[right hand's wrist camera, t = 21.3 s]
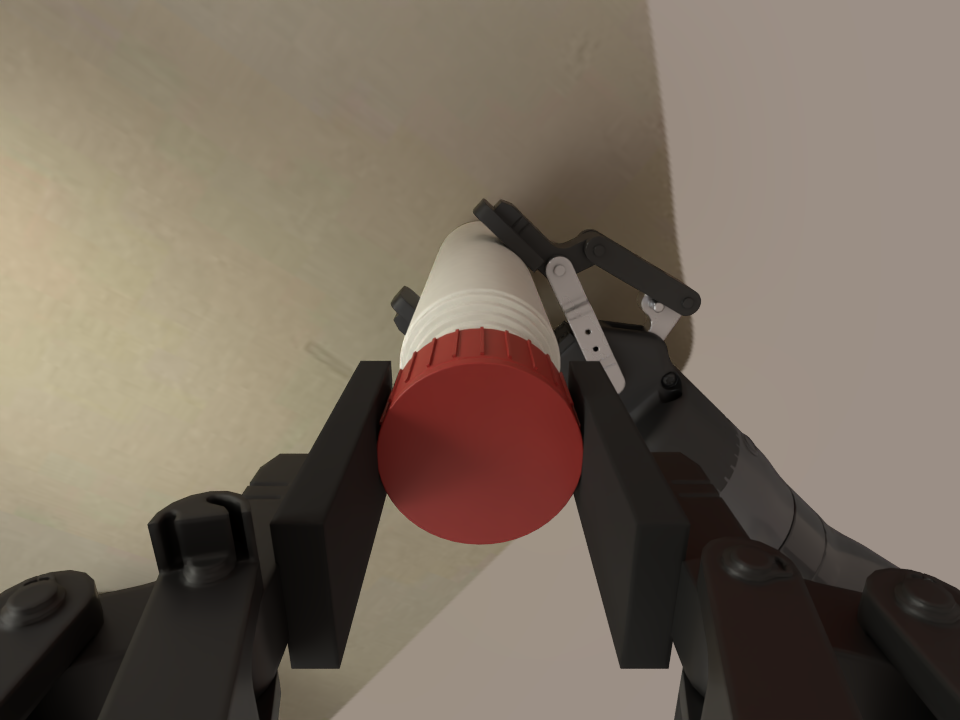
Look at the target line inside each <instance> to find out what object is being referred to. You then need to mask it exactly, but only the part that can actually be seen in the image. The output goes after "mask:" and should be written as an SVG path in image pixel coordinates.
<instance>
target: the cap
mask: <svg viewBox="0 0 960 720" xmlns="http://www.w3.org/2000/svg"><path fill="white" fill-rule="evenodd" d="M379 425H381V428H380V431H379V434H378V440H377V458H378V471H379V475H380V478H381V481H382V484H383V486H384V488H385V490H386V492H387V494H388V496H389V497H390V499H391V500H392V502H393V503H394V504H395V506H396V507H397V508H398V509H399V511H400V512H401V513H402V514H404V515H405V516H406V517H407V518H408V519H409V520H410V521H412V522H413V523H414V524H416V525H417V526H418V527H420V528H422V529H424V530H425V531H427V532H429V533H431V534H433V535H436V536H438V537H440V538H444V539H447V540H450V541H454V542H459V543H465V544H494V543H501V542H506V541H510V540H514V539H517V538H520V537H522V536H525V535H527V534H529V533H531V532H533V531H535V530H537V529H539V528H540V527H542V526H543V525H545V524H546V523H548V522H549V521H550V520H551V519H552V518H554V517H555V516H556V515H557V514H558V513H559V512H560V511H561V510H562V508H563V507H564V506H565V505H566V504H567V502H568V501H569V499H570V498H571V496H572V495H573V493H574V491H575V489H576V487H577V485H578V482H579V479H580V476H581V473H582V460H583V437H582V433H581V430H580V428H581V425H580V422H579V419H578V417H577V414H576V411H575V408H574V403H573V401H572V398H571V395H570V392H569V390H568V387H567V384H566V381H565V379H564V376H563V373H562V372H560V373H559V371H558V370H557V368H556V367H555V365H554V363H553V362H552V361H551V358H550V355H549V354H545V353H543V352H542V351H541V350H540V349H539V348H538V347H536V346H535V345H533V344H532V342H531V340H529V339H528V340H525V339H523V338H521V337H519V336H517V335H514V334H511V333H509V331H508V330H505V331H501V330H496V329H486V328H484V327H480V328H474V329H464V330H459V329H456V330H455V332H452V333H449V334H446V335H444V336H441V337H439V338H437V339H436V337H435V338H433V339H432V342H430V343H428V344H427V345H425V346H424V347H423V348H422V349H420V350H419V351H418V352H416V351H415V352H414V353H413V355H412V358H411V359H410V360H409V361H408V363H407V364H406V366H405V367H404V368H403V370H402V369H400V370H399V373H398V376H397V378H396V381H395V384H394V387H393V389H391V392H390V395H389V397H388V400H387V403H386V406H385V408H384V411H383V414H382V417H381V419H380V422H379Z"/></svg>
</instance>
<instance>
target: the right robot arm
mask: <svg viewBox="0 0 960 720" xmlns="http://www.w3.org/2000/svg"><path fill="white" fill-rule="evenodd" d="M391 389H393V388H392V371H391V361H360V363H359V365H358V366H357V368H356V370H355V372H354V373H353V375H352V377H351V379H350V381H349V382H348V384H347V386H346V388H345V390H344V391H343V393H342V395H341V397H340V399H339V400H338V402H337V404H336V406H335V408H334V409H333V411H332V413H331V415H330V416H329V418H328V420H327V422H326V424H325V425H324V427H323V429H322V431H321V433H320V434H319V436H318V438H317V440H316V442H315V443H314V445H313V447H312V449H311V450H310V452H309V454H279V455H278V456H276V457H275V458H273V459H272V460H270V461H269V462H267V463H266V464H265V465H263V466H262V467H260V469H259V470H258V472H257V473H256V475H255V476H254V478H253V479H252V481H251V482H250V486H247V488H246V489H245V491H244V492H243V494H242V495H241V494H237V493H233V492H229V491H209V492H205V493H200V494H195V495H191V496H188V497H186V498H183V499H181V500H178V501H176V502H173V503H171V504H170V505H168V506H167V507H165V508H164V509H162V510H161V511H159V512H158V513H157V514H156V515H155V516H154V517H153V518H152V520H151V521H150V522H149V523H148V524H147V525H148V529H149V533H150V537H151V541H152V545H153V549H154V553H155V557H156V562H157V566H158V570H159V576H158V578H157V581H155V582H151V583H148V584H144V585H141V586H136V587H132V588H127V589H122V590H118V591H113V592H109V593H104V594H99V595H98V592H97V589H96V585H95V582H94V580H93V579H92V578H91V577H90V576H89V575H88V574H86V573H84V572H79V571H73V570H66V571H58V572H50V573H46V574H42V575H40V576H35V577H33V578H30V579H27V580H25V581H23V582H21V583H19V584H17V585H15V586H13V587H11V588H9V589H7V590H5V591H4V592H2V593H1V594H0V720H278V716H279V706H280V697H281V689H280V682H279V675H278V667H279V664H280V661H281V659H282V656H283V654H284V651H285V648H286V646H287V643H288V648H289V655H290V661H291V668H292V669H340V665H341V662H342V658H343V654H344V650H345V647H346V643H347V639H348V635H349V632H350V628H351V624H352V621H353V617H354V613H355V609H356V606H357V602H358V598H359V595H360V591H361V587H362V583H363V580H364V576H365V572H366V569H367V565H368V561H369V557H370V554H371V550H372V546H373V543H374V539H375V535H376V531H377V528H378V524H379V520H380V517H381V513H382V509H383V505H384V502H385V498H386V494H387V492H386V490H385V488H384V486H383V484H382V481H381V478H380V475H379V471H378V458H377V440H378V434H379V431H380V428H381V425H379V422H380V419H381V417H382V414H383V411H384V408H385V406H386V403H387V400H388V397H389V395H390V392H391ZM568 390H569V392H570V395H571V398H572V401H573V403H574V408H575V411H576V414H577V417H578V419H579V422H580V425H581V428H580V430H581V433H582V437H583V460H582V473H581V476H580V479H579V482H578V485H577V487H576V489H575V491H574V493H573V494H574V497H575V501H576V505H577V509H578V512H579V516H580V520H581V524H582V527H583V531H584V535H585V538H586V542H587V546H588V550H589V553H590V557H591V561H592V564H593V568H594V572H595V576H596V579H597V583H598V586H599V590H600V594H601V598H602V602H603V605H604V609H605V613H606V616H607V620H608V624H609V628H610V631H611V635H612V639H613V642H614V646H615V650H616V654H617V657H618V661H619V665H620V668H621V669H668V668H669V662H670V656H671V649H672V643H674V645H675V648H676V650H677V653H678V656H679V658H680V661H681V663H682V666H683V670H682V675H681V681H680V688H679V694H678V700H677V706H676V712H675V718H674V720H960V590H958V589H957V588H955V587H953V586H951V585H949V584H947V583H945V582H943V581H941V580H939V579H937V578H935V577H933V576H930V575H927V574H923V573H921V572H916V571H913V570H908V569H899V568H885V569H880V570H875V571H874V572H873V573H872V574H870V575H869V576H868V577H867V579H866V582H865V586H864V589H863V592H858V591H854V590H849V589H845V588H840V587H835V586H831V585H826V584H822V583H818V582H814V581H811V580H807V579H804V578H803V577H802V575H801V573H800V571H799V570H798V568H797V567H796V566H795V564H794V563H793V561H792V560H791V559H789V558H788V557H787V556H785V555H784V554H783V553H781V552H780V551H779V550H777V549H775V548H773V547H771V546H769V545H767V544H764V543H762V542H760V541H756V540H752V539H750V537H749V536H748V535H747V533H746V532H745V530H744V529H743V527H742V526H741V524H740V523H739V521H738V520H737V519H736V517H735V516H734V514H733V513H732V511H731V510H730V508H729V507H728V506H727V504H726V503H725V501H724V500H723V498H722V497H720V496H719V495H720V494H719V492H718V491H717V490H716V488H715V487H714V485H713V484H711V481H710V479H709V478H708V477H707V475H706V474H705V472H704V471H703V469H702V468H701V466H700V465H699V464H697V463H696V462H694V461H693V460H691V459H690V458H688V457H687V456H685V455H684V454H683V453H681V452H650V450H649V448H648V447H647V445H646V443H645V441H644V439H643V438H642V436H641V434H640V432H639V431H638V429H637V427H636V425H635V423H634V422H633V420H632V418H631V416H630V414H629V413H628V411H627V409H626V407H625V405H624V404H623V402H622V400H621V398H620V397H619V395H618V393H617V391H616V389H615V388H614V386H613V384H612V382H611V380H610V379H609V377H608V375H607V373H606V371H605V370H604V368H603V366H602V364H601V362H600V361H569V373H568Z"/></svg>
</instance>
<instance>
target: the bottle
mask: <svg viewBox="0 0 960 720" xmlns="http://www.w3.org/2000/svg"><path fill="white" fill-rule="evenodd" d="M480 327H484V328H486V329H496V330H501V331H505V330H508V331H509V333H511V334H514V335H517V336H519V337H521V338H523V339H525V340H528V339H529V340H531V342H532V344H533V345H535V346H536V347H538V348H539V349H540V350H541V351H542V352H543V353H545V354H549V355H550V358H551V361H552V362H553V363H554V365H555V367H556V368H557V370H558V371H559V373H560V352H559V347H558V343H557V340H556V337H555V334H554V332H553V329H552V327H551V324H550V322H549V319H548V317H547V314H546V312H545V309H544V307H543V304H542V302H541V299H540V297H539V294H538V292H537V289H536V287H535V284H534V281H533V279H532V276H531V274H530V271H529V269H528V266H527V265H526V264H525V263H524V262H523V261H522V260H521V259H520V258H519V257H518V256H517V255H516V254H515V253H513V252H512V251H511V250H510V249H509V248H508V247H507V246H506V245H505V244H504V243H503V242H502V241H501V240H500V239H499V238H498V237H497V236H496V235H495V234H494V233H493V232H492V231H491V230H490V229H488V228H487V227H486V226H485V225H484V224H483V223H482V222H481V221H475V222H470V223H466V224H463V225H461V226H459V227H458V228H456V229H455V230H453V231H452V232H451V233H450V234H449V235H448V236H447V237H446V238H445V240H444V241H443V243H442V245H441V247H440V249H439V252H438V254H437V257H436V259H435V262H434V264H433V267H432V269H431V272H430V275H429V277H428V280H427V282H426V285H425V287H424V290H423V292H422V295H421V297H420V300H419V302H418V305H417V307H416V310H415V312H414V315H413V317H412V320H411V322H410V325H409V327H408V330H407V332H406V335H405V338H404V341H403V344H402V348H401V354H400V369H402V370H403V368H404V367H405V366H406V364H407V363H408V361H409V360H410V359H411V358H412V355H413V353H414V352H415V351H416V352H418V351H419V350H420V349H422V348H423V347H424V346H425V345H427V344H428V343H430V342H432V339H433V338H435V337H436V339H437V338H439V337H441V336H444V335H446V334H449V333H452V332H455V330H456V329H459V330H464V329H474V328H480Z"/></svg>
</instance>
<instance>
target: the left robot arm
mask: <svg viewBox="0 0 960 720" xmlns="http://www.w3.org/2000/svg"><path fill="white" fill-rule="evenodd" d="M473 213H474V214H475V216H476V217H477V218H478V219H479V220H480V221H481V222H482V223H483V224H484V225H485V226H486V227H487V228H488V229H490V230H491V231H492V232H493V233H494V234H495V235H496V236H497V237H498V238H499V239H500V240H501V241H502V242H503V243H504V244H505V245H506V246H507V247H508V248H509V249H510V250H511V251H512V252H513V253H515V254H516V255H517V256H518V257H519V258H520V259H521V260H522V261H523V262H524V263H525V264H526V265H527V266H528V267H529V268H530V269H531V270H532V271H533V272H535V271H536V270H537V269H538V270H539V271H540V272H541V273H542V274H543V275H544V276H545V277H546V278H547V279H548V281H549V283H550V285H551V287H552V289H553V292H554V294H555V296H556V298H557V300H558V302H559V305H560V307H561V309H562V311H563V313H564V315H565V317H566V320H567V322H568V323H566V322H565V321H563V322H562V323H561V324H560V325H559V326H558V327H557V328H556V329H555V330H554V331H553V332H554V334H555V337H556V340H557V343H558V347H559V352H560V372H562V373H563V376H564V379H565V381H566V384H567V387H568V373H569V361H600V362H601V364H602V366H603V368H604V370H605V371H606V373H607V375H608V377H609V379H610V380H611V382H612V384H613V386H614V388H615V389H616V391H617V393H618V395H619V397H620V398H621V400H622V402H623V404H624V405H625V407H626V409H627V411H628V413H629V414H630V416H631V418H632V420H633V422H634V423H635V425H636V427H637V429H638V431H639V432H640V434H641V436H642V438H643V439H644V441H645V443H646V445H647V447H648V448H649V450H650V452H681V453H683V454H684V455H685V456H687V457H688V458H690V459H691V460H693V461H694V462H696V463H697V464H699V465H700V466H701V468H702V469H703V471H704V472H705V474H706V475H707V477H708V478H709V479H710V481H711V484H713V485H714V487H715V488H716V490H717V491H718V492H719V494H720V495H719V496H720V497H722V498H723V500H724V501H725V503H726V504H727V506H728V507H729V508H730V510H731V511H732V513H733V514H734V516H735V517H736V519H737V520H738V521H739V523H740V524H741V526H742V527H743V529H744V530H745V532H746V533H747V535H748V536H749V537H750V539H752V540H756V541H760V542H762V543H764V544H767V545H769V546H771V547H773V548H775V549H777V550H779V551H780V552H781V553H783V554H784V555H785V556H787V557H788V558H789V559H791V560H792V561H793V563H794V564H795V566H796V567H797V568H798V570H799V571H800V573H801V575H802V577H803V578H804V579H807V580H811V581H814V582H818V583H822V584H826V585H831V586H835V587H840V588H845V589H849V590H854V591H858V592H863V589H864V586H865V582H866V579H867V577H868V576H869V575H870V574H872V573H873V572H874V571H875V570H880V569H885V568H899V567H897V566H895V565H894V564H892V563H891V562H889V561H887V560H886V559H884V558H883V557H881V556H880V555H878V554H876V553H875V552H873V551H872V550H870V549H869V548H867V547H865V546H864V545H862V544H860V543H858V542H856V541H855V540H853V539H851V538H849V537H847V536H845V535H843V534H841V533H840V532H838V531H836V530H835V529H833V528H832V527H830V526H829V525H827V524H826V523H825V522H824V521H823V520H822V518H821V517H820V516H819V515H818V514H817V513H816V512H815V511H814V510H813V509H812V508H811V507H810V506H809V505H808V504H807V503H806V502H805V501H804V500H803V499H802V498H801V497H800V496H799V495H798V494H797V493H795V492H794V491H793V490H792V489H791V488H790V487H789V486H788V485H787V484H786V483H785V481H784V480H783V479H782V478H781V477H780V476H779V474H778V473H777V472H776V471H775V469H774V468H773V466H772V465H771V463H770V462H769V461H768V459H767V458H766V457H765V456H764V454H763V453H762V452H761V451H760V450H759V449H758V448H757V447H756V446H755V445H754V443H753V442H752V440H751V439H750V438H749V437H748V436H747V435H745V434H743V433H742V432H741V431H740V430H739V429H738V428H737V427H736V426H735V425H734V424H733V423H732V422H731V421H730V420H729V419H728V418H726V417H725V415H724V414H723V413H722V412H721V411H720V410H719V409H718V408H717V407H716V406H715V405H714V404H713V403H712V402H711V401H709V399H707V398H706V397H705V396H704V395H703V394H702V393H701V392H700V391H699V390H698V389H697V388H696V387H695V386H694V385H693V384H692V383H691V382H690V381H689V380H688V379H687V378H686V377H685V376H684V375H683V374H682V373H681V372H680V371H679V370H678V369H677V368H676V367H675V366H674V365H673V364H672V363H671V361H670V358H669V355H668V350H667V346H666V344H665V342H664V340H665V338H666V337H667V336H668V334H669V333H670V331H671V330H672V329H673V327H674V326H675V324H676V323H677V322H678V320H679V319H680V318H681V316H682V315H683V316H689V315H692V314H694V313H695V312H696V311H697V310H698V309H699V307H700V304H701V298H700V296H699V294H698V293H697V292H696V291H694V290H693V289H691V288H690V287H688V286H687V285H685V284H684V283H682V282H681V281H679V280H678V279H676V278H674V277H673V276H671V275H669V274H668V273H666V272H664V271H663V270H661V269H659V268H658V267H656V266H654V265H653V264H651V263H649V262H648V261H646V260H644V259H643V258H641V257H639V256H638V255H636V254H634V253H633V252H631V251H629V250H628V249H626V248H624V247H623V246H621V245H619V244H618V243H616V242H614V241H613V240H611V239H609V238H608V237H606V236H604V235H603V234H601V233H599V232H598V231H596V230H594V229H586V230H584V231H582V232H581V233H580V234H579V235H578V237H576V238H574V239H572V240H570V241H568V242H565V243H561V244H557V243H553V242H551V241H549V240H548V239H547V238H546V237H545V236H544V235H543V234H542V233H541V232H540V231H539V230H538V229H537V228H536V227H535V226H534V225H533V224H532V223H531V222H530V221H529V220H528V219H527V218H526V217H525V216H524V215H523V214H522V213H521V212H520V211H519V210H518V209H517V208H516V207H515V206H514V205H513V204H512V203H509V202H507V201H505V200H502V199H500V200H499V201H498V203H497V204H496V205H495V206H494V207H493V206H492V205H491V204H490V203H489V202H488V201H487V200H486V199H484V198H483V199H482V200H481V201H480V203H479V204H478V205H477V206H476V207H475V208H474V209H473ZM593 265H597V266H598V267H600V268H602V269H603V270H605V271H607V272H608V273H610V274H612V275H614V276H615V277H617V278H619V279H620V280H622V281H624V282H625V283H627V284H629V285H631V286H632V287H634V288H636V289H637V290H639V293H638V295H637V299H636V301H637V304H638V306H639V307H640V308H641V309H642V310H643V311H644V312H645V315H646V321H645V324H644V326H642V325H634V324H626V323H618V322H611V321H603V320H597V317H596V315H595V313H594V311H593V308H592V306H591V304H590V302H589V300H588V299H587V297H586V294H585V292H584V290H583V288H582V285H581V283H580V281H579V279H578V276H577V273H579V272H581V271H583V270H585V269H587V268H589V267H591V266H593ZM419 300H420V297H419V296H418V295H417V294H416V293H415V292H414V291H412V290H411V289H410V288H408V287H406V286H404V287H403V288H402V289H401V290H400V291H399V292H398V293H397V294H396V296H395V297H394V298H393V300H392V302H391V306H392V307H393V309H394V310H395V311H396V312H397V314H396V316H395V318H394V322H395V323H396V325H397V327H398V329H399V330H400V331H401V332H402V333H403V334H404V335H406V332H407V330H408V327H409V325H410V322H411V320H412V317H413V315H414V312H415V310H416V307H417V305H418V302H419ZM899 569H900V568H899Z"/></svg>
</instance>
